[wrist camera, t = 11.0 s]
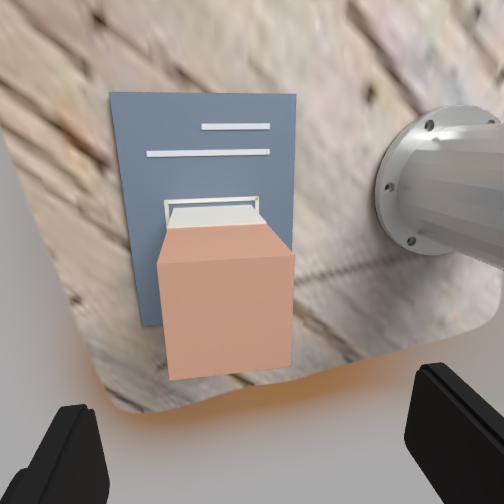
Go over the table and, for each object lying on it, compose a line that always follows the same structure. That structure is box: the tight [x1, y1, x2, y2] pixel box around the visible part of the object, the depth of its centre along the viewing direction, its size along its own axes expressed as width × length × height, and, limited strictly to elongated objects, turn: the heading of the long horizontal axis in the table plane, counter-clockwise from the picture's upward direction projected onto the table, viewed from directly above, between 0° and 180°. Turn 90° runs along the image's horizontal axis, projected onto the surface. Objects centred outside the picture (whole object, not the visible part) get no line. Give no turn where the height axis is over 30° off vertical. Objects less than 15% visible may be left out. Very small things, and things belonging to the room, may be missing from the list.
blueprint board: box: [109, 92, 296, 326], centre depth 26 cm, size 13×18×1 cm
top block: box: [157, 224, 295, 381], centre depth 18 cm, size 6×6×6 cm
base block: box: [167, 205, 266, 229], centre depth 23 cm, size 6×6×6 cm
